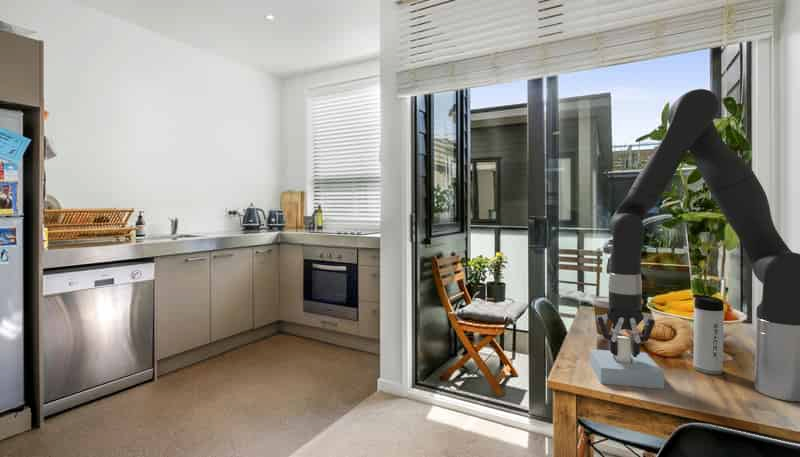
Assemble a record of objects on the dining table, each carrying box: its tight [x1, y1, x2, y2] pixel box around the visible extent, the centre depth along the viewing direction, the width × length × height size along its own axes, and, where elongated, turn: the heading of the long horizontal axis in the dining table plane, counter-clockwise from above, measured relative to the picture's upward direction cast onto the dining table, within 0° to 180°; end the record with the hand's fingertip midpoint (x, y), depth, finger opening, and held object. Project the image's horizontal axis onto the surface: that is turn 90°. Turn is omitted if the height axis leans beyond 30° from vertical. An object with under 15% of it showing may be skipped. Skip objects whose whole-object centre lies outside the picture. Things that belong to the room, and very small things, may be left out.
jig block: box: [589, 348, 665, 390], centre depth 108 cm, size 14×14×4 cm
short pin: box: [596, 336, 610, 350], centre depth 123 cm, size 3×3×5 cm
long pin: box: [616, 335, 632, 364], centre depth 108 cm, size 3×3×10 cm
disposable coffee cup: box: [591, 296, 612, 336], centre depth 144 cm, size 10×10×12 cm
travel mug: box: [692, 293, 725, 376], centre depth 110 cm, size 6×7×20 cm
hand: (624, 355), depth 108 cm, fingers open, 4 cm apart
